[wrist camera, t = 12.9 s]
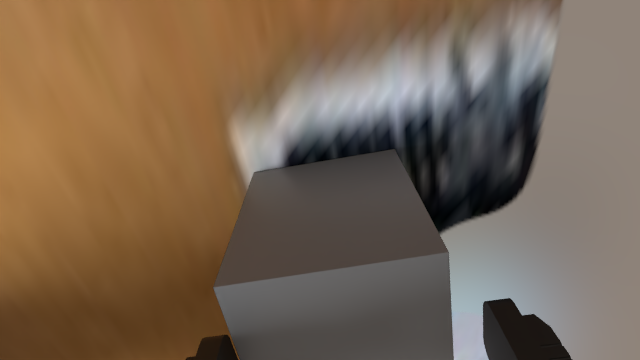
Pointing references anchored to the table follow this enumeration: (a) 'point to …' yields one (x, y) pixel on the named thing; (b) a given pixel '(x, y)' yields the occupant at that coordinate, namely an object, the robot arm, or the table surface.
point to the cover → (336, 266)
